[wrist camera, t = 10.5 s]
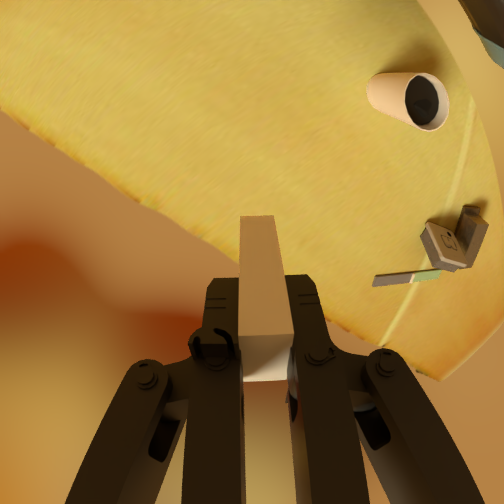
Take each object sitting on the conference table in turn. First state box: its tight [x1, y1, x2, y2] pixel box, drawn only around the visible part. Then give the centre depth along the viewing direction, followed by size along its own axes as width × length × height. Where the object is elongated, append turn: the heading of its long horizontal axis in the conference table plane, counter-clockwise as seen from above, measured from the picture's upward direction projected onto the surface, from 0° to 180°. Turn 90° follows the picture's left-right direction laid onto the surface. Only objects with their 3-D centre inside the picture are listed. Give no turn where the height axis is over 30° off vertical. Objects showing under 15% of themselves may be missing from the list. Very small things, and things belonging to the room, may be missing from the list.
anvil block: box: [454, 206, 489, 269], centre depth 40 cm, size 12×5×5 cm, turn 2°
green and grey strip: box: [372, 269, 442, 287], centre depth 47 cm, size 2×17×1 cm, turn 92°
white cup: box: [366, 73, 449, 132], centre depth 24 cm, size 7×7×10 cm
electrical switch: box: [420, 221, 467, 272], centre depth 39 cm, size 8×5×8 cm, turn 76°
